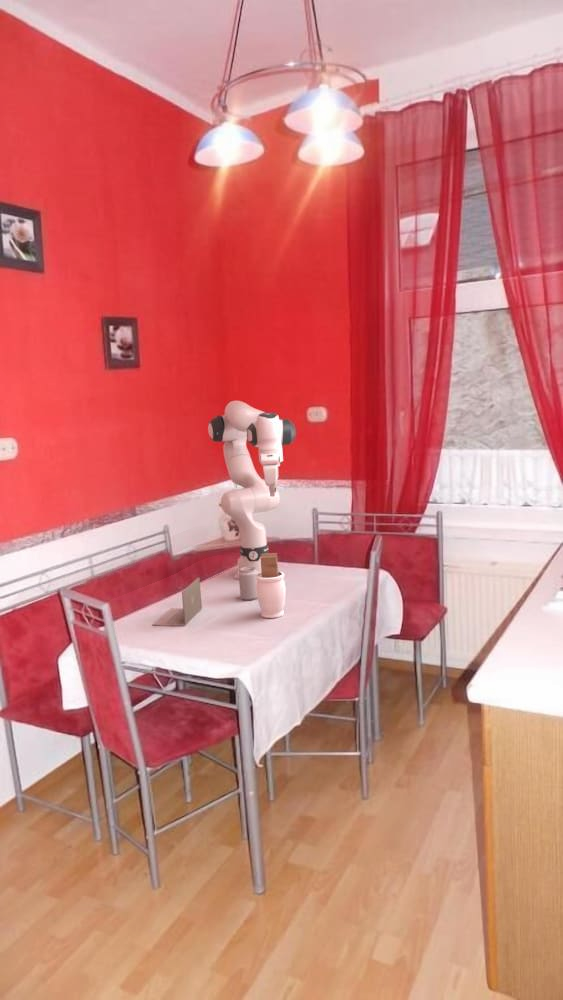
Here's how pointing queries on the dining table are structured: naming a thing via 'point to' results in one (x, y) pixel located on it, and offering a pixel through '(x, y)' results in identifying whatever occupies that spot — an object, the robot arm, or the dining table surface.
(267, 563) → the walnut block
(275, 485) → the robot arm
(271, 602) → the jar
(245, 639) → the dining table surface
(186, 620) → the laptop
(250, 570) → the can
